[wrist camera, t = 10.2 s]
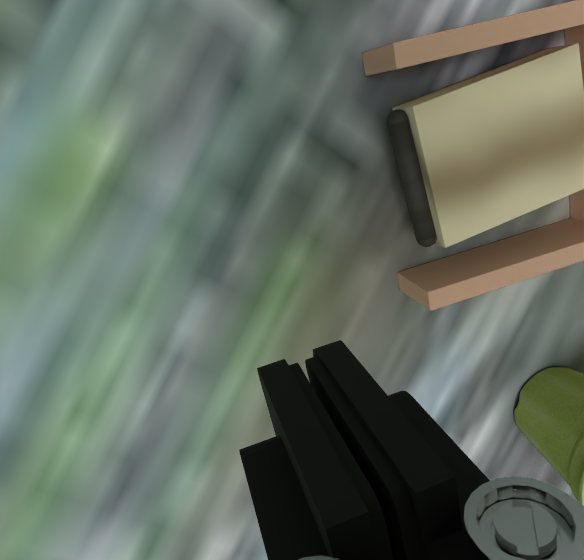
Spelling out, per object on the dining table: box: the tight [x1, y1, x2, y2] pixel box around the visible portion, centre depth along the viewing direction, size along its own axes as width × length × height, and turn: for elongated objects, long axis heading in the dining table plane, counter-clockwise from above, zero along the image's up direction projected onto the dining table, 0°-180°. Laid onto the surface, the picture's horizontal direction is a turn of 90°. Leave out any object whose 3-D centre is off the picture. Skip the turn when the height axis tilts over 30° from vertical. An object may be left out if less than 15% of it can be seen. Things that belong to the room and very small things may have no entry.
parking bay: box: [362, 0, 584, 311], centre depth 30 cm, size 14×14×4 cm
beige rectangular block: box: [387, 43, 584, 248], centre depth 29 cm, size 8×11×4 cm
